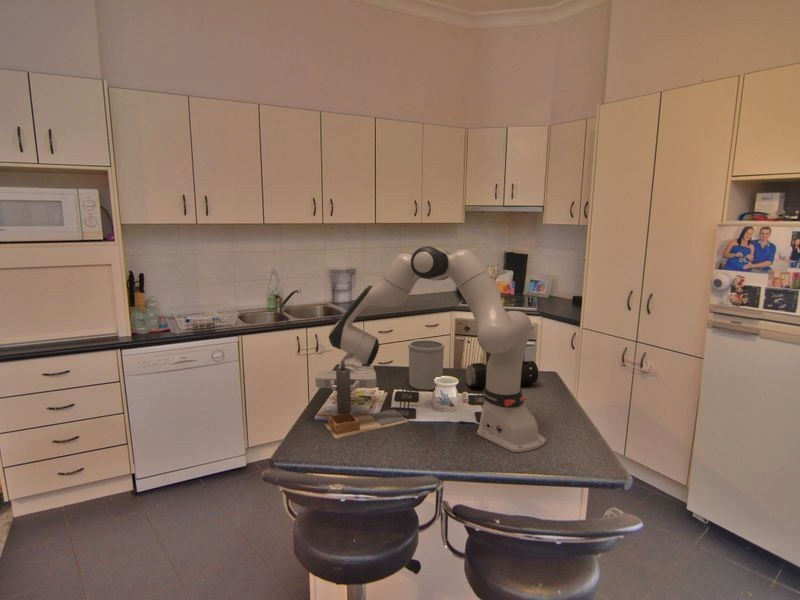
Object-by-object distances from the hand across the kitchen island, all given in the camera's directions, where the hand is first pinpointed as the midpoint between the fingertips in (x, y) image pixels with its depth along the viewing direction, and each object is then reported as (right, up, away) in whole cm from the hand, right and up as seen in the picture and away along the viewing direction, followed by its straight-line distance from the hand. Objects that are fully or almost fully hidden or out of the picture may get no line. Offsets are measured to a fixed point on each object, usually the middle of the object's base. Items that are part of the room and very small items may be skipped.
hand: (343, 388), depth 150 cm
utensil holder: (+29, -7, +46) cm, 55 cm away
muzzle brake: (+60, -8, +44) cm, 75 cm away
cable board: (+7, -14, +7) cm, 17 cm away
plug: (0, -8, +2) cm, 8 cm away
